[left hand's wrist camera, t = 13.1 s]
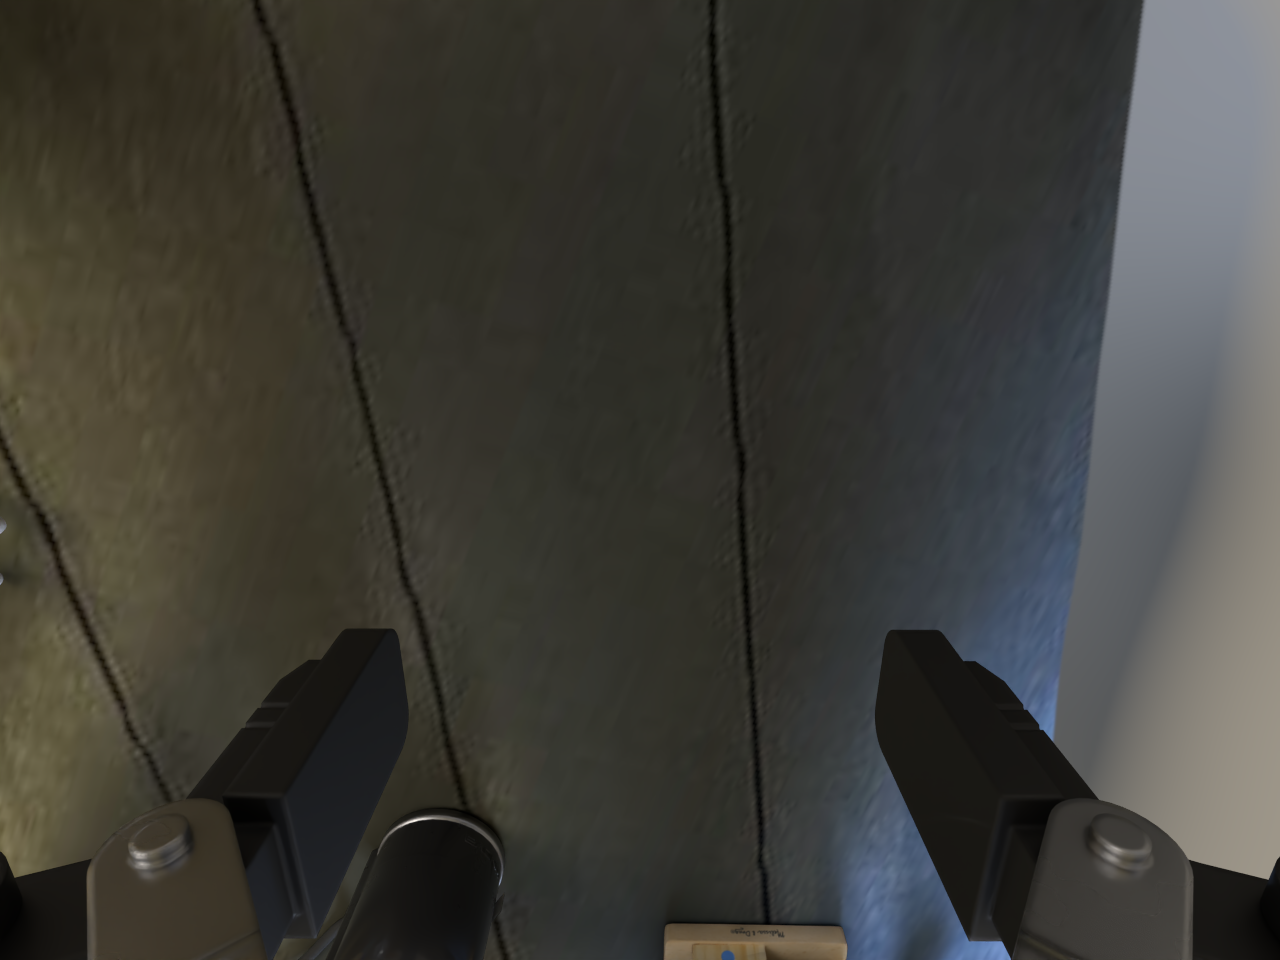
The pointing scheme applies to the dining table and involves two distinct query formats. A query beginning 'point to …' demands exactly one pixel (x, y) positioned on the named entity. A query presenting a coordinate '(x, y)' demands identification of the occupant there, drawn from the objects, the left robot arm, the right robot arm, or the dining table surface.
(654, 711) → the dining table surface
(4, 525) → the molecular model
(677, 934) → the pounding bench toy
